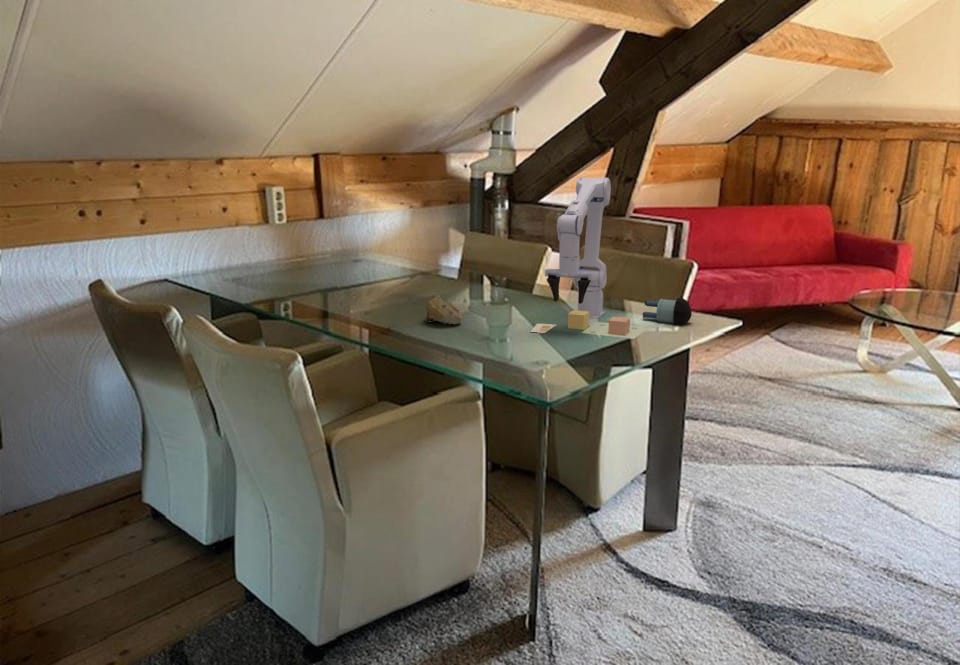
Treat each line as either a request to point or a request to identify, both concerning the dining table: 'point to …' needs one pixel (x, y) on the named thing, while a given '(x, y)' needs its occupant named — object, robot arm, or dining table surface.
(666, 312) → the toy
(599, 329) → the plate
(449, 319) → the seashell
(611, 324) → the terracotta brick
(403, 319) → the dining table surface
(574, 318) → the ochre brick
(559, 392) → the dining table surface
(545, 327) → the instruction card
